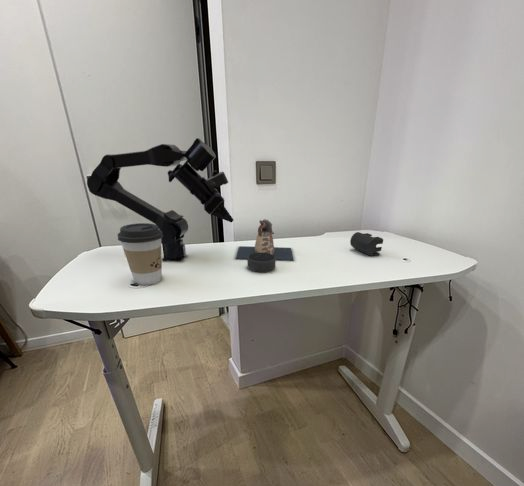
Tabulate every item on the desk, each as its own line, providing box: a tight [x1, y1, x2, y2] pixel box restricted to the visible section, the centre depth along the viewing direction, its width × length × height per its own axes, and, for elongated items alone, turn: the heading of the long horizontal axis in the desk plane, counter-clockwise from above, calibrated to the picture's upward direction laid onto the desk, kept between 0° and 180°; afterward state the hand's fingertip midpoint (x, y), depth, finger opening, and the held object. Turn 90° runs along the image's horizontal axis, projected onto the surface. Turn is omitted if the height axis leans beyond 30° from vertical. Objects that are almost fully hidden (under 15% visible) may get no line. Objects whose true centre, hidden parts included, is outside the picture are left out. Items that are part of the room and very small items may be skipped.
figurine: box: [254, 218, 275, 255], centre depth 103 cm, size 7×7×12 cm
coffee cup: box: [117, 222, 163, 286], centre depth 79 cm, size 11×11×15 cm
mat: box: [235, 245, 295, 262], centre depth 106 cm, size 20×14×1 cm
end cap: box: [349, 231, 384, 257], centre depth 109 cm, size 10×7×7 cm
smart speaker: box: [247, 253, 277, 273], centre depth 92 cm, size 9×9×4 cm
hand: (230, 218), depth 95 cm, fingers open, 9 cm apart
